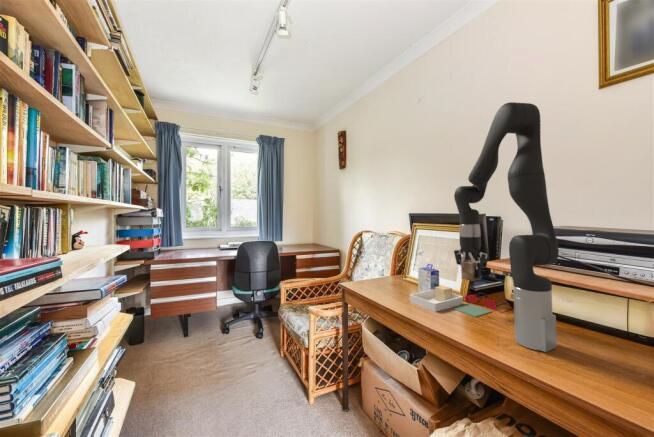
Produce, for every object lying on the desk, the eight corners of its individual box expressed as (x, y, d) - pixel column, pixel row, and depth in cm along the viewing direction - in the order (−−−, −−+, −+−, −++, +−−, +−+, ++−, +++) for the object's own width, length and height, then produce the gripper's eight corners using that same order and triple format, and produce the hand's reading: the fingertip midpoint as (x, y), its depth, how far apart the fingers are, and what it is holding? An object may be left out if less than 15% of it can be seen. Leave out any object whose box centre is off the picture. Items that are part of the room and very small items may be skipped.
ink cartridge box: (440, 294, 129) (439, 265, 129) (431, 296, 127) (430, 266, 127) (426, 289, 138) (425, 262, 138) (418, 291, 137) (417, 263, 136)
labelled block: (481, 279, 106) (480, 262, 106) (472, 281, 104) (472, 263, 103) (469, 276, 110) (469, 260, 110) (461, 278, 108) (461, 261, 108)
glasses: (463, 303, 118) (463, 292, 117) (485, 296, 125) (485, 286, 125) (496, 313, 105) (495, 300, 105) (518, 304, 113) (518, 293, 113)
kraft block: (452, 301, 119) (451, 288, 118) (444, 303, 116) (443, 289, 116) (443, 298, 123) (442, 285, 123) (435, 300, 121) (434, 287, 121)
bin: (462, 304, 115) (462, 296, 115) (435, 312, 108) (434, 303, 107) (436, 295, 128) (435, 288, 128) (409, 302, 121) (409, 294, 121)
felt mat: (492, 312, 105) (492, 311, 105) (475, 317, 101) (475, 316, 100) (469, 305, 114) (469, 303, 114) (453, 309, 110) (452, 308, 110)
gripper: (493, 235, 102) (494, 279, 102) (460, 233, 115) (461, 272, 115) (480, 237, 98) (482, 282, 99) (448, 234, 111) (449, 274, 112)
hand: (471, 276), depth 107 cm, fingers closed on labelled block, 5 cm apart
